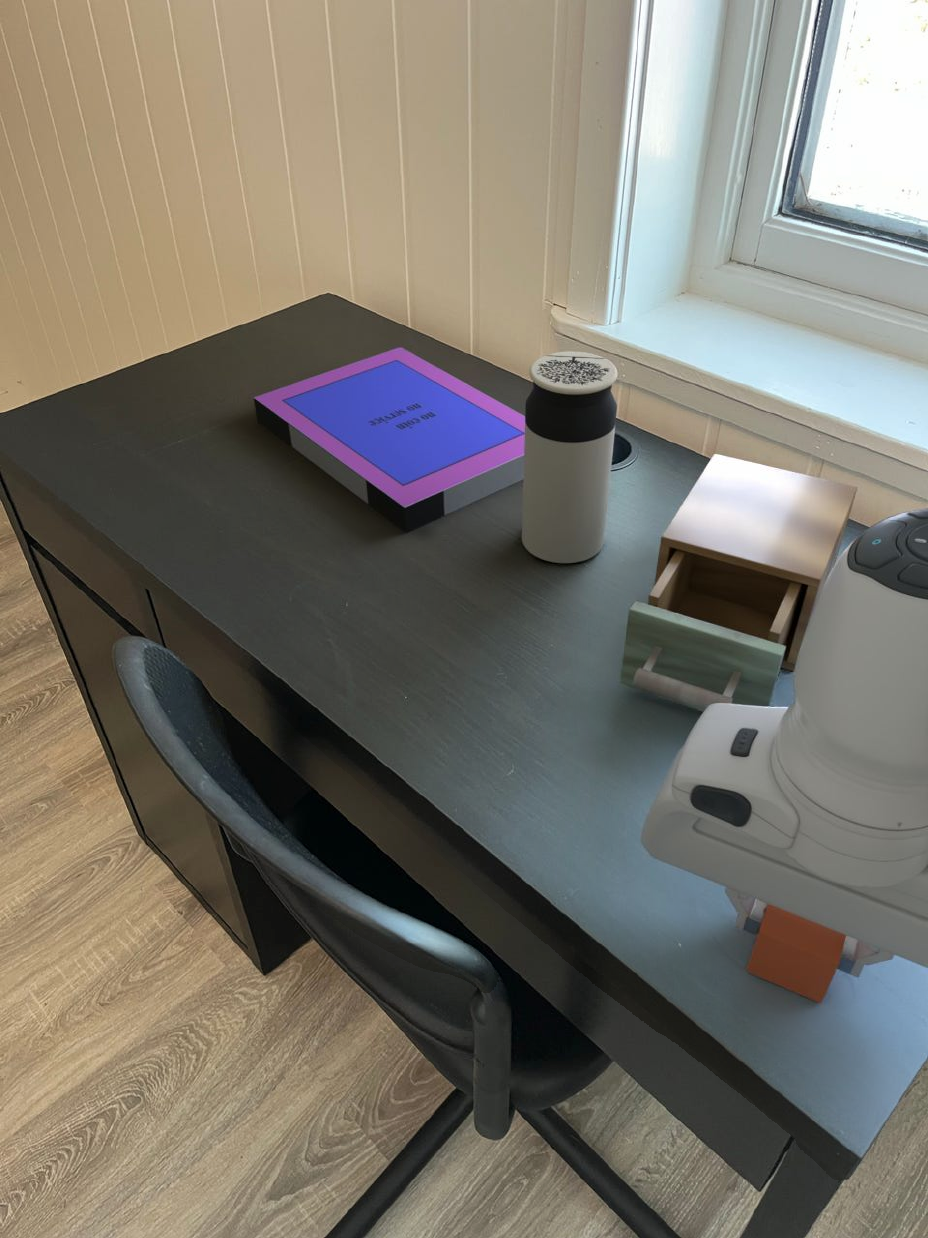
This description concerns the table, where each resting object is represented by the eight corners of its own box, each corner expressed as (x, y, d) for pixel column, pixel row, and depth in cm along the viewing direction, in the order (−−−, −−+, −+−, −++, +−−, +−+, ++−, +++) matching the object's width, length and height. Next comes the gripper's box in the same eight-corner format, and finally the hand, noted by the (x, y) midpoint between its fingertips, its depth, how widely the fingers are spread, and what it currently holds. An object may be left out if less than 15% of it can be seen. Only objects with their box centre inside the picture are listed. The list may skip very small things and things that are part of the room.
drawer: (746, 770, 68) (766, 694, 63) (599, 718, 73) (607, 643, 68) (802, 627, 80) (823, 553, 75) (673, 590, 85) (685, 517, 80)
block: (836, 942, 59) (854, 901, 56) (821, 1004, 56) (839, 964, 53) (764, 913, 61) (778, 872, 58) (745, 971, 58) (759, 931, 55)
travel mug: (595, 572, 88) (611, 396, 77) (512, 558, 90) (516, 384, 78) (610, 525, 94) (627, 354, 82) (532, 513, 96) (538, 344, 84)
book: (400, 346, 120) (563, 437, 101) (401, 368, 121) (561, 461, 103) (253, 397, 110) (404, 507, 92) (257, 420, 112) (406, 532, 94)
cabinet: (794, 672, 78) (821, 579, 71) (648, 626, 82) (661, 536, 76) (831, 575, 87) (858, 486, 81) (699, 539, 92) (714, 453, 86)
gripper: (1084, 826, 46) (988, 973, 55) (682, 693, 54) (655, 841, 63) (1079, 929, 42) (977, 1069, 51) (644, 769, 50) (621, 915, 59)
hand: (796, 942), depth 57 cm, fingers closed on block, 4 cm apart
